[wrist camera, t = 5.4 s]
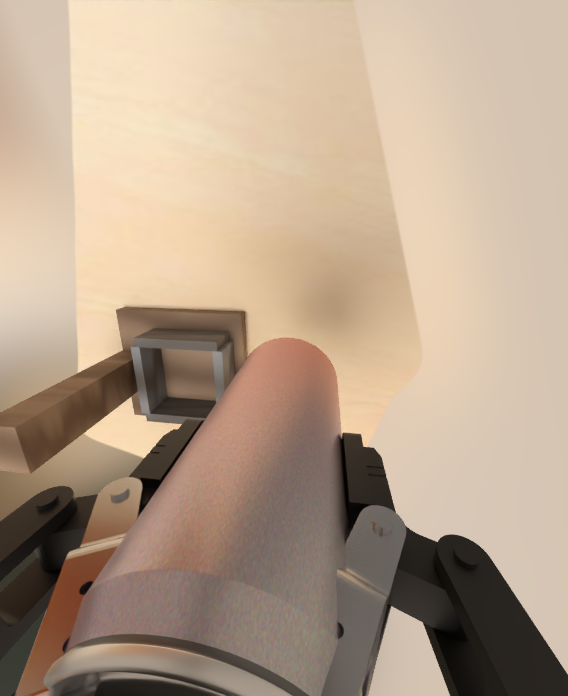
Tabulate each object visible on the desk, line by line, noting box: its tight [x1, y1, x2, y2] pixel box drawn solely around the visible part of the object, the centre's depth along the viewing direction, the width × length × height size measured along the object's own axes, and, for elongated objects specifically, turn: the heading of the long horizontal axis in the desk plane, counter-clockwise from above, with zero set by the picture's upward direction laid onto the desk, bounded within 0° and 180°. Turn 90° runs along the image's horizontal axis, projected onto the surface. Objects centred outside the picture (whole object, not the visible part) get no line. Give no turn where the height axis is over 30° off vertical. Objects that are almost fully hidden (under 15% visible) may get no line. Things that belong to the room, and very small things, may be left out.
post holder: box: [0, 307, 246, 474], centre depth 29 cm, size 14×15×18 cm
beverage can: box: [43, 338, 362, 696], centre depth 12 cm, size 6×6×15 cm
